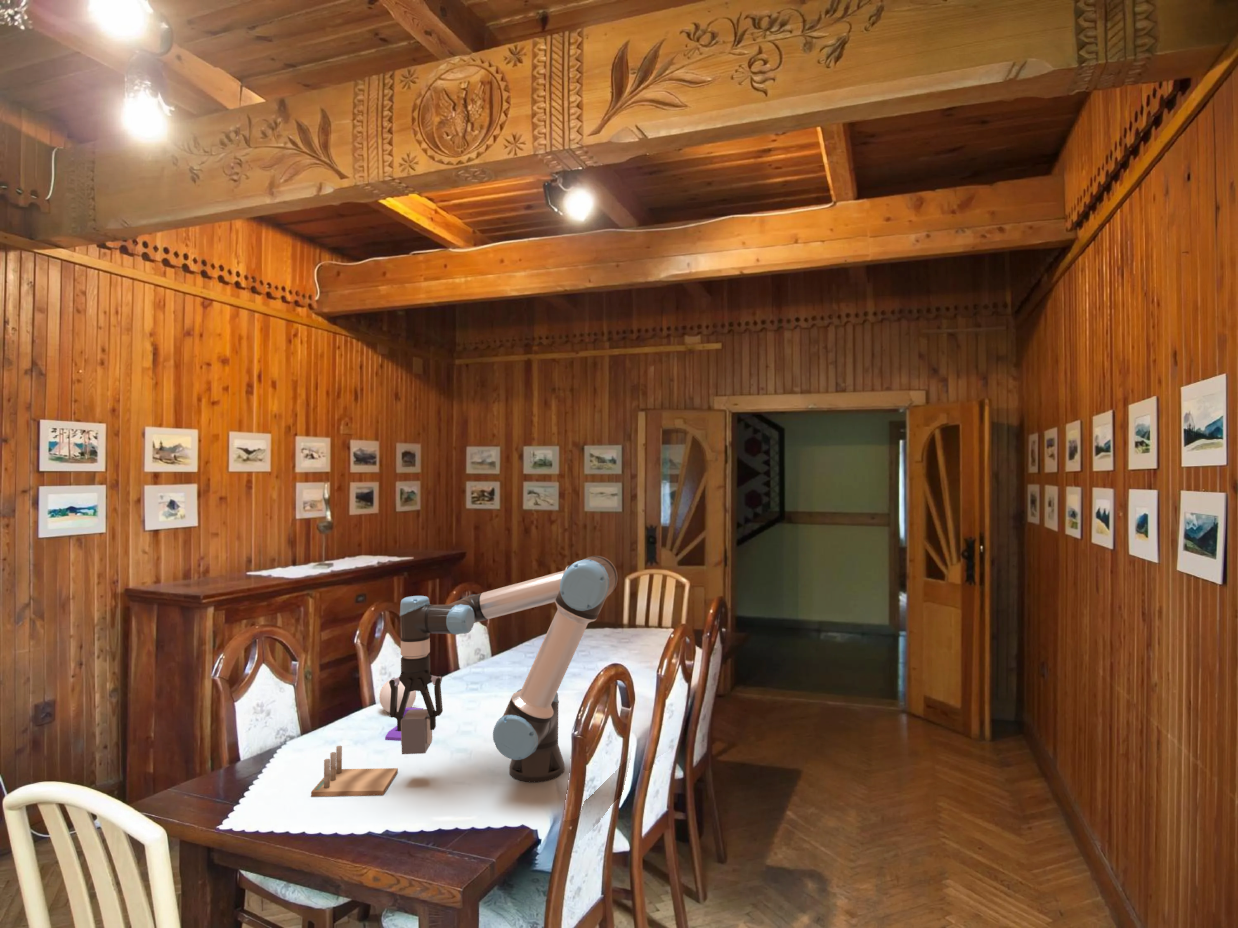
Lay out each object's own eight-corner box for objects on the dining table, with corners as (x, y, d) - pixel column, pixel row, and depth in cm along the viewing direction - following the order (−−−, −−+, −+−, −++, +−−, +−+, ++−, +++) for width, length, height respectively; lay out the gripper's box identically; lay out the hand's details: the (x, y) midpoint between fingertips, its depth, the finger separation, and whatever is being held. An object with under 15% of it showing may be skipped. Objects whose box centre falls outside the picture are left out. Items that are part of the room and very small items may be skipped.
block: (431, 742, 195) (431, 708, 195) (425, 753, 187) (424, 718, 187) (409, 743, 195) (408, 709, 195) (401, 754, 187) (401, 719, 187)
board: (397, 772, 197) (397, 742, 197) (383, 795, 183) (383, 762, 183) (330, 773, 196) (331, 743, 196) (311, 796, 182) (311, 763, 182)
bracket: (403, 728, 232) (403, 706, 232) (423, 729, 231) (423, 708, 231) (385, 741, 220) (385, 719, 220) (406, 743, 219) (406, 720, 219)
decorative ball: (415, 706, 253) (415, 672, 254) (416, 716, 242) (416, 681, 242) (379, 709, 250) (379, 674, 250) (379, 720, 238) (379, 684, 239)
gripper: (454, 650, 196) (455, 735, 195) (383, 652, 195) (384, 738, 194) (448, 657, 188) (450, 746, 188) (375, 659, 187) (376, 749, 187)
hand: (416, 742), depth 191 cm, fingers closed on block, 6 cm apart
